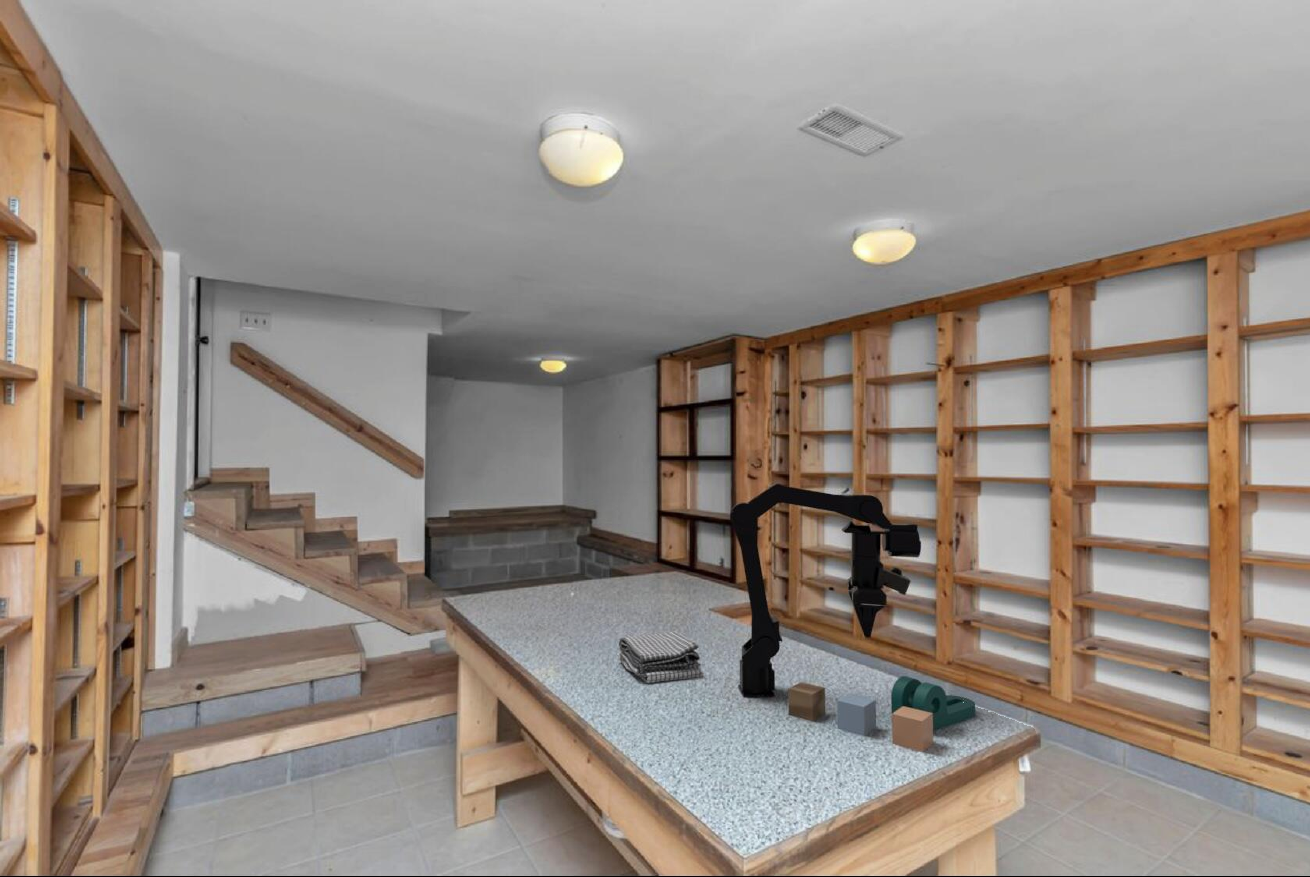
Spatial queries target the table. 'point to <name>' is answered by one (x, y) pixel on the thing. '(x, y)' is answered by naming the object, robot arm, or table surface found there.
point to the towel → (660, 656)
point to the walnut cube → (806, 701)
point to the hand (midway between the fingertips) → (865, 632)
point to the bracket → (931, 702)
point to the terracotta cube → (912, 728)
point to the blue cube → (856, 714)
